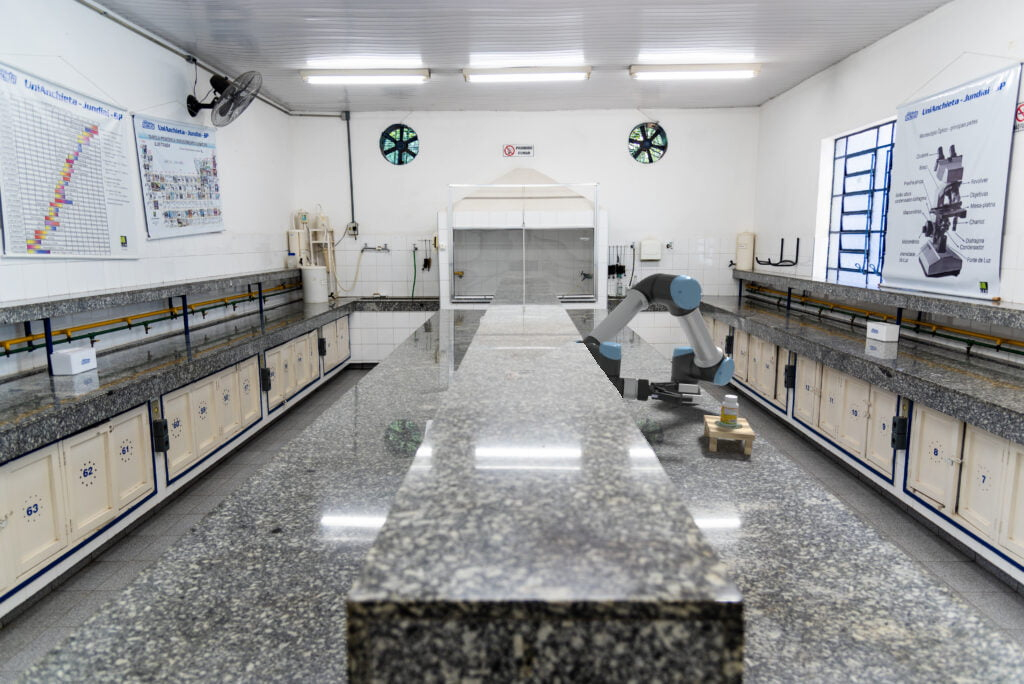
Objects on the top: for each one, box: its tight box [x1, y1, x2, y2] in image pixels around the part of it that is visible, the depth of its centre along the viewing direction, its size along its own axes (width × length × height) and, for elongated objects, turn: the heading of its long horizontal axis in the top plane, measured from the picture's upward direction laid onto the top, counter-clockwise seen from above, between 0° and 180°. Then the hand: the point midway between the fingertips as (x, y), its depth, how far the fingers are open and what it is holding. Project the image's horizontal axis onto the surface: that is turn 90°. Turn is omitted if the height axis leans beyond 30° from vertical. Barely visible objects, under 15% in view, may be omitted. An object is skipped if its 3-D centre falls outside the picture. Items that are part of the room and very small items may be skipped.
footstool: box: [703, 414, 756, 456], centre depth 209 cm, size 18×14×7 cm
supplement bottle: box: [720, 394, 740, 426], centre depth 208 cm, size 5×5×10 cm
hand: (700, 394), depth 209 cm, fingers open, 13 cm apart
